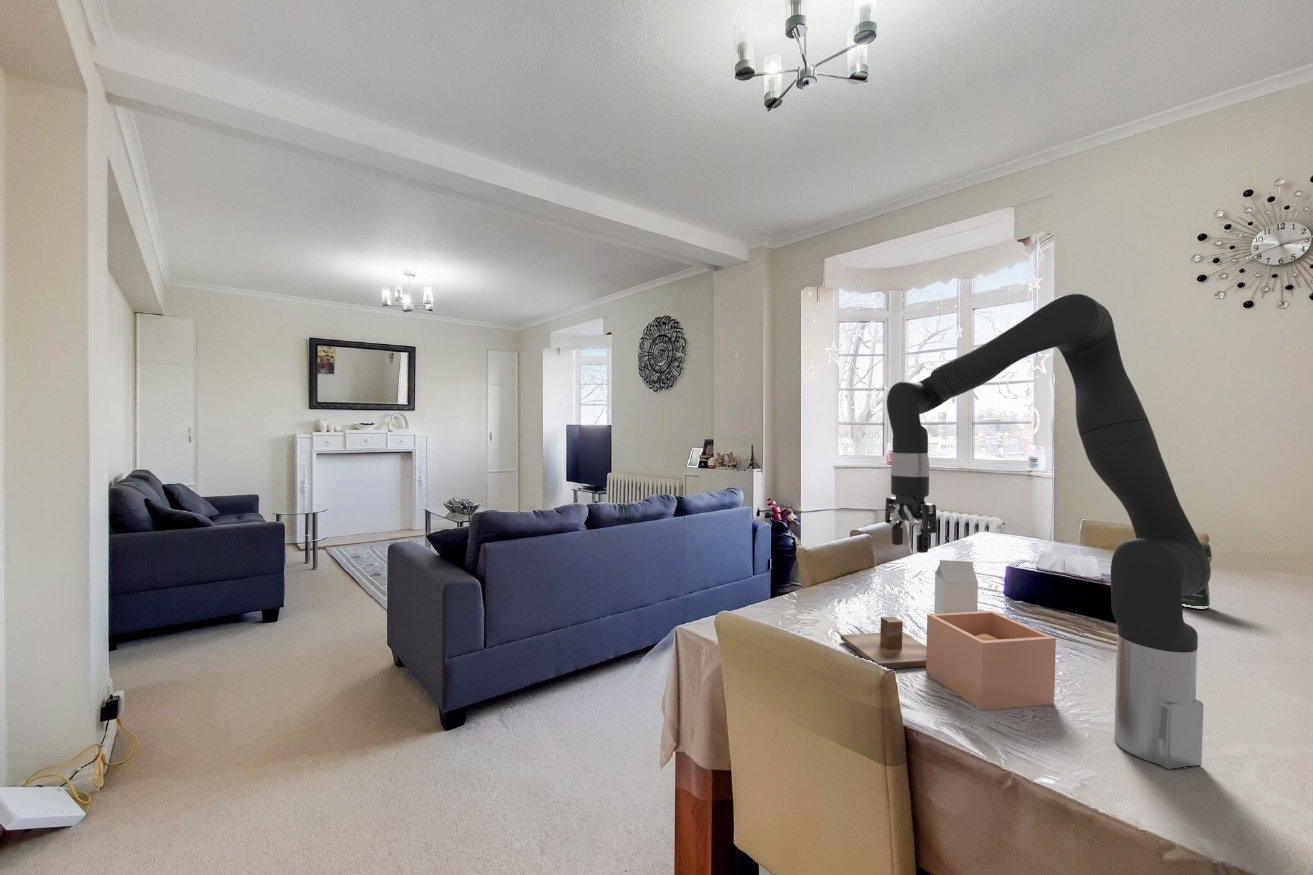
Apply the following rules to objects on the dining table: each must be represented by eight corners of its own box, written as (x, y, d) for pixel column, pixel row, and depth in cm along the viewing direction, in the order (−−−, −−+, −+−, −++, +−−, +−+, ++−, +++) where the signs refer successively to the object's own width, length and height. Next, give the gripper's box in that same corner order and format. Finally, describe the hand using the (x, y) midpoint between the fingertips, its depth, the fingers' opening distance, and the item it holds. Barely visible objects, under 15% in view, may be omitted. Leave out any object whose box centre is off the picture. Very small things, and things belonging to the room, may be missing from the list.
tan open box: (1054, 703, 101) (1055, 638, 100) (981, 710, 98) (982, 643, 98) (990, 667, 115) (992, 610, 115) (925, 672, 113) (927, 614, 113)
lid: (946, 663, 116) (947, 630, 116) (878, 668, 113) (879, 634, 113) (901, 635, 131) (902, 606, 131) (840, 639, 129) (841, 609, 128)
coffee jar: (1161, 604, 159) (1163, 539, 159) (1165, 598, 164) (1167, 536, 164) (1208, 612, 152) (1210, 545, 151) (1211, 606, 157) (1213, 541, 157)
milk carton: (976, 648, 125) (978, 565, 125) (942, 646, 127) (944, 563, 126) (965, 637, 132) (967, 557, 132) (933, 634, 134) (935, 556, 133)
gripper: (948, 476, 114) (947, 554, 114) (904, 471, 128) (904, 541, 128) (915, 476, 113) (915, 556, 113) (875, 471, 127) (874, 542, 127)
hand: (909, 548), depth 121 cm, fingers open, 8 cm apart
